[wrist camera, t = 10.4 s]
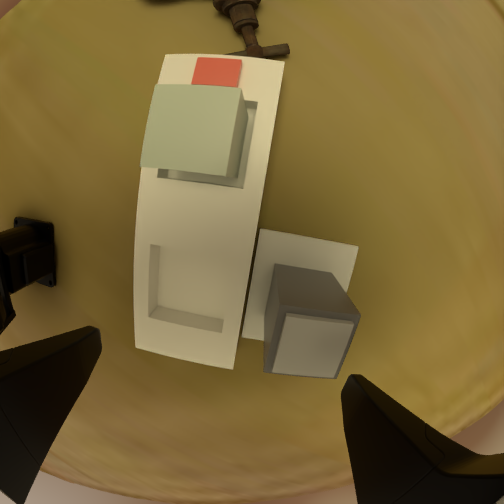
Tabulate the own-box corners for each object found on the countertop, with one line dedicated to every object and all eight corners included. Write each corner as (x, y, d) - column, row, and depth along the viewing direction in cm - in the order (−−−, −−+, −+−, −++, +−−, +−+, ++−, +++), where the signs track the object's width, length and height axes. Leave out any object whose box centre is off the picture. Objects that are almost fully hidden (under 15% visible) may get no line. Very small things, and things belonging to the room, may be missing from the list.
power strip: (236, 348, 22) (231, 375, 19) (148, 329, 23) (132, 352, 19) (281, 77, 17) (285, 57, 13) (178, 69, 17) (162, 50, 13)
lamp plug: (176, 170, 18) (139, 166, 12) (186, 110, 17) (155, 84, 11) (238, 178, 18) (225, 176, 12) (248, 116, 17) (241, 88, 11)
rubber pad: (241, 334, 22) (241, 337, 22) (260, 228, 20) (260, 228, 19) (327, 345, 22) (328, 348, 22) (357, 245, 20) (358, 246, 19)
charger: (264, 315, 21) (263, 376, 14) (274, 263, 20) (280, 307, 13) (317, 323, 21) (337, 382, 14) (331, 272, 20) (363, 318, 13)
